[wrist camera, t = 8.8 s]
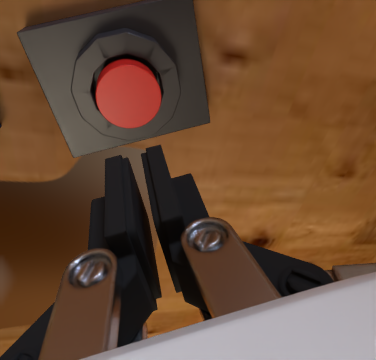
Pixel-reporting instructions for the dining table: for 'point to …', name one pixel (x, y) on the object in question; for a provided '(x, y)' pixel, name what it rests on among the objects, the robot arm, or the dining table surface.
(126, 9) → the button box
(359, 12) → the dining table surface
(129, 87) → the button
